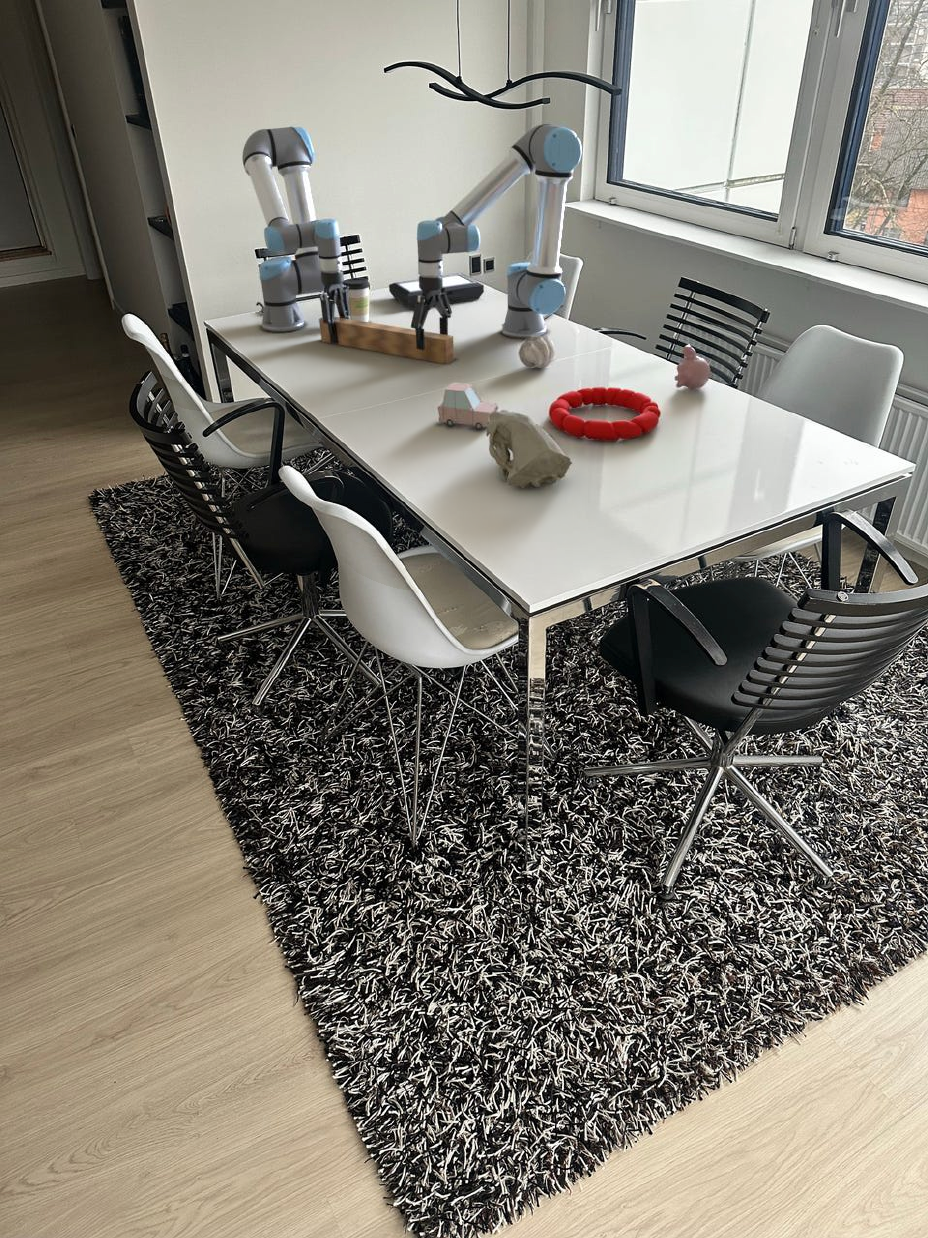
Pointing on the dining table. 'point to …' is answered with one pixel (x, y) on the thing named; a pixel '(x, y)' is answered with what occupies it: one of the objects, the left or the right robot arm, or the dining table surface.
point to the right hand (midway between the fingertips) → (432, 343)
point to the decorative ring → (603, 428)
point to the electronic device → (455, 286)
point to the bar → (390, 340)
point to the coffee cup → (358, 298)
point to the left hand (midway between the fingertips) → (339, 340)
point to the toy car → (465, 406)
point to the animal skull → (525, 450)
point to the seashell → (536, 351)
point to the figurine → (692, 370)
